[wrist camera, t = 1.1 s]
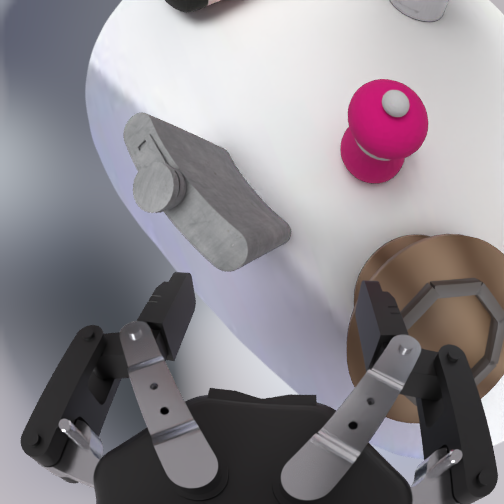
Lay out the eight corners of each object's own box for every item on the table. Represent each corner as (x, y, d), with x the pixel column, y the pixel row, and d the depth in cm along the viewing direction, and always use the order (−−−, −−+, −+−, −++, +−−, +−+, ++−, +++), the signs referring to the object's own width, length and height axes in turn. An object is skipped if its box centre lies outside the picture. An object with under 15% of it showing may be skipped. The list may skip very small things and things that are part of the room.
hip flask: (296, 234, 37) (245, 259, 18) (271, 253, 38) (200, 296, 19) (220, 143, 38) (122, 97, 19) (199, 163, 39) (92, 135, 20)
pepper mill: (395, 132, 31) (442, 56, 12) (397, 188, 32) (458, 163, 13) (339, 128, 33) (333, 46, 14) (340, 185, 34) (340, 153, 15)
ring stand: (411, 196, 32) (457, 185, 17) (492, 290, 29) (553, 329, 14) (317, 301, 37) (300, 357, 22) (404, 381, 34) (422, 456, 20)
